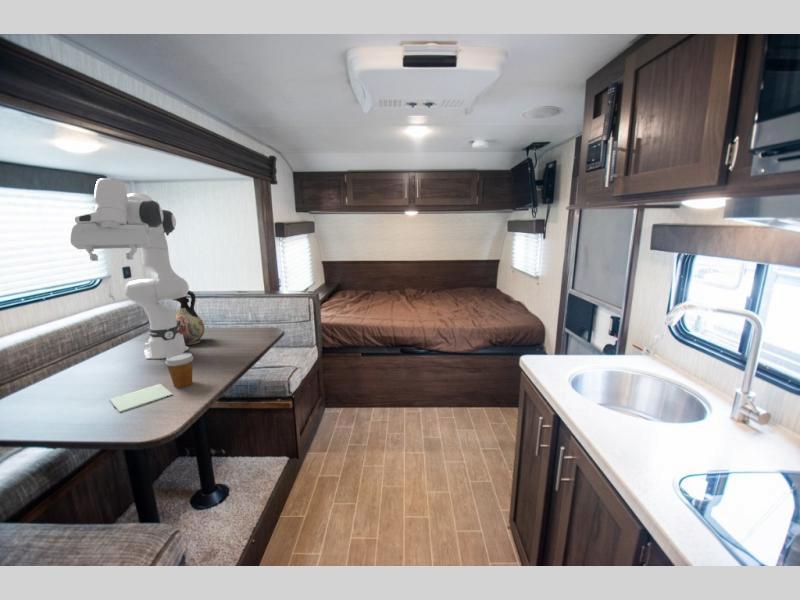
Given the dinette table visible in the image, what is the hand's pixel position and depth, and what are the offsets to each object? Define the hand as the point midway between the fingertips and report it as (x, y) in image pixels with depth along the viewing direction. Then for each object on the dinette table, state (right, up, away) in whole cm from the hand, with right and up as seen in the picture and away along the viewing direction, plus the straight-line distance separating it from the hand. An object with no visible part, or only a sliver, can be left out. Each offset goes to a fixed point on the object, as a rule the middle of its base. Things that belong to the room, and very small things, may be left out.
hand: (112, 259), depth 111 cm
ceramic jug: (-21, -38, +76) cm, 88 cm away
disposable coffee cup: (+7, -48, +25) cm, 55 cm away
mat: (-1, -50, +14) cm, 52 cm away
